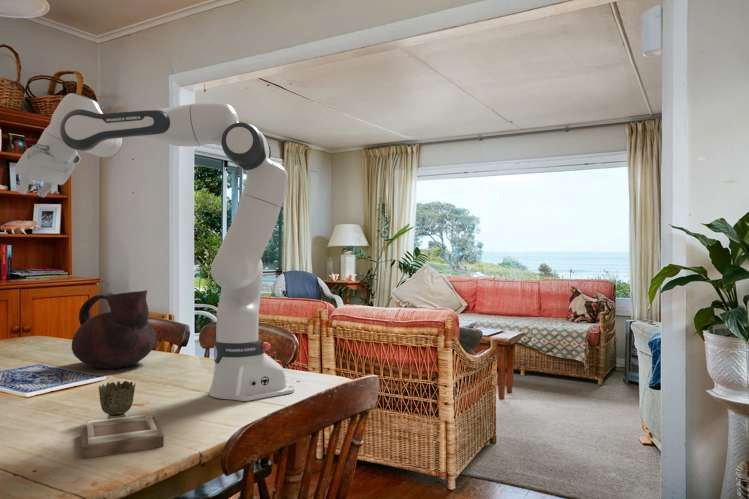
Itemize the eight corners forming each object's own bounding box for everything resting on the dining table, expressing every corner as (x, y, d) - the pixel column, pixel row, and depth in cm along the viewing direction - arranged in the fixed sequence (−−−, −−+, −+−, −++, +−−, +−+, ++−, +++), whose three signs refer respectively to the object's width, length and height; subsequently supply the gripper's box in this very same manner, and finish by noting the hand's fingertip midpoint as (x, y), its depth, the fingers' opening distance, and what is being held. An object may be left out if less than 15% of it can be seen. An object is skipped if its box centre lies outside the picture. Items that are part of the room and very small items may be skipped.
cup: (93, 419, 122) (93, 384, 122) (127, 413, 127) (127, 379, 127) (104, 427, 117) (105, 390, 117) (139, 420, 122) (140, 384, 122)
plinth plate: (154, 425, 118) (154, 412, 118) (163, 446, 106) (163, 431, 106) (81, 435, 112) (81, 420, 112) (81, 458, 99) (82, 442, 99)
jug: (112, 356, 195) (113, 286, 195) (171, 361, 187) (172, 288, 188) (51, 370, 172) (53, 290, 172) (115, 376, 164) (117, 293, 164)
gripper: (47, 148, 136) (20, 197, 135) (83, 160, 156) (60, 202, 156) (23, 135, 135) (-4, 185, 135) (63, 149, 155) (39, 192, 155)
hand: (31, 194), depth 145 cm, fingers open, 8 cm apart
